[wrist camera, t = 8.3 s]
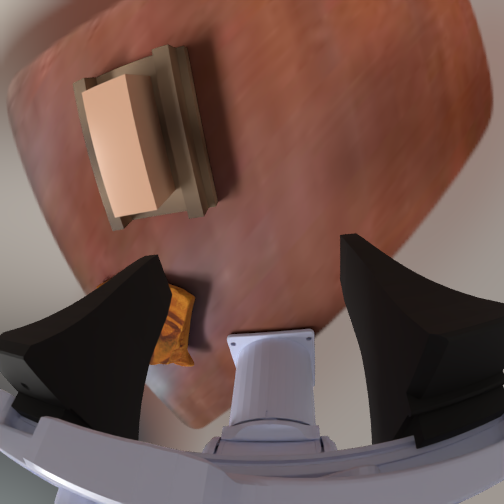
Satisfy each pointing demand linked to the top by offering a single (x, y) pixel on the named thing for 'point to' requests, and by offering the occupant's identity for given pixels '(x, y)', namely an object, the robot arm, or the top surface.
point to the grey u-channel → (164, 133)
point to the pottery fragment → (175, 330)
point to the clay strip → (129, 144)
